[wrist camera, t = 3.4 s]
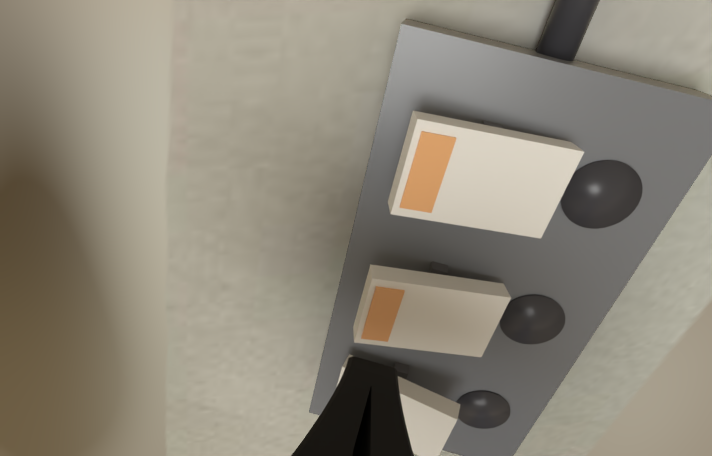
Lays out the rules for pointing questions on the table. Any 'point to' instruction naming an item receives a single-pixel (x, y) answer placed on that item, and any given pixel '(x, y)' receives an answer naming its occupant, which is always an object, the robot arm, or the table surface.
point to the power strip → (510, 251)
